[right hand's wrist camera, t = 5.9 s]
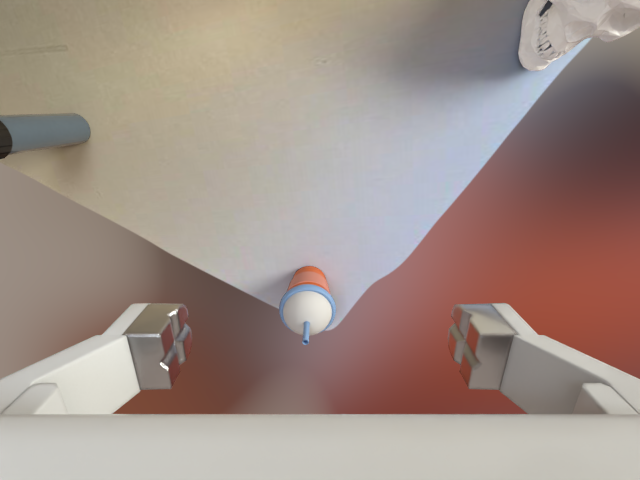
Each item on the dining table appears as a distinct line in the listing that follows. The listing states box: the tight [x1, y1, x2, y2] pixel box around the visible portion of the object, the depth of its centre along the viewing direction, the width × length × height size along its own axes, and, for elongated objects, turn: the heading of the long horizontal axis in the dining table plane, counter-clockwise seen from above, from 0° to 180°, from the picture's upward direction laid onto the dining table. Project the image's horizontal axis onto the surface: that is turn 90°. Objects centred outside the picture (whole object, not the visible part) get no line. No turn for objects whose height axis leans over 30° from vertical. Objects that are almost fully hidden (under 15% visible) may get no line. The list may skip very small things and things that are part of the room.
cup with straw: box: [279, 266, 336, 345], centre depth 55 cm, size 9×9×18 cm
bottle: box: [0, 113, 90, 155], centre depth 46 cm, size 5×5×17 cm
